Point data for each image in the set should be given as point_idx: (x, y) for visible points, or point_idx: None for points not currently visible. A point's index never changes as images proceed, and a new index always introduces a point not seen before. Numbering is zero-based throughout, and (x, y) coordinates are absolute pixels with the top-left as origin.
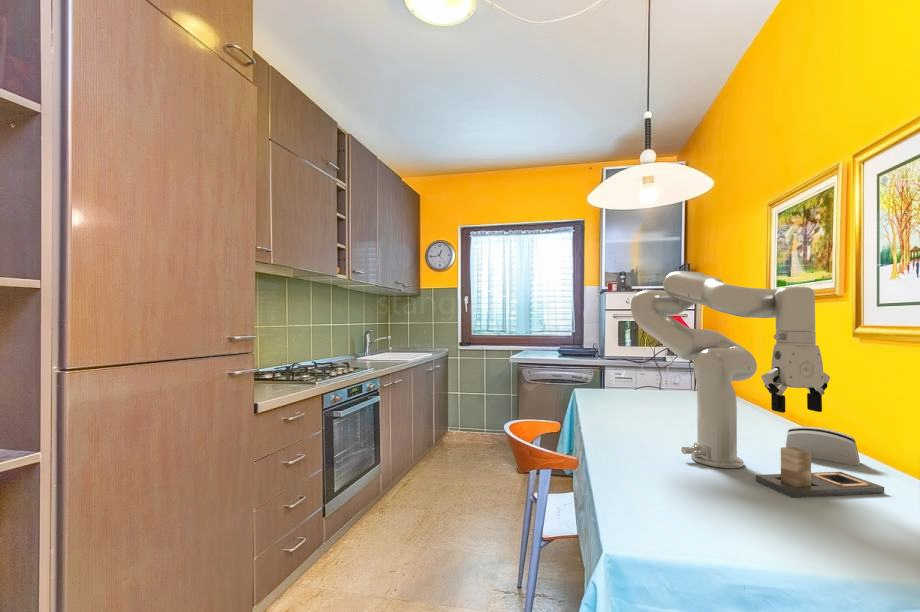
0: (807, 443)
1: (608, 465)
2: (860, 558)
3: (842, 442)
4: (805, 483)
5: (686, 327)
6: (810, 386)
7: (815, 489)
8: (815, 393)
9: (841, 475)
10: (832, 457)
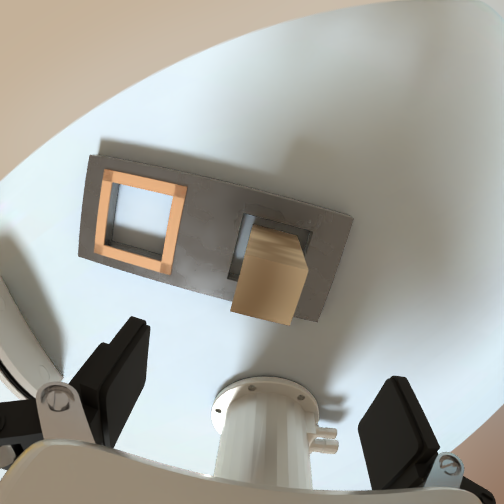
0: (30, 361)
1: (463, 426)
2: (485, 44)
3: None
4: (269, 233)
5: None
6: (250, 487)
7: (282, 201)
8: (96, 421)
9: (104, 237)
10: (16, 315)
